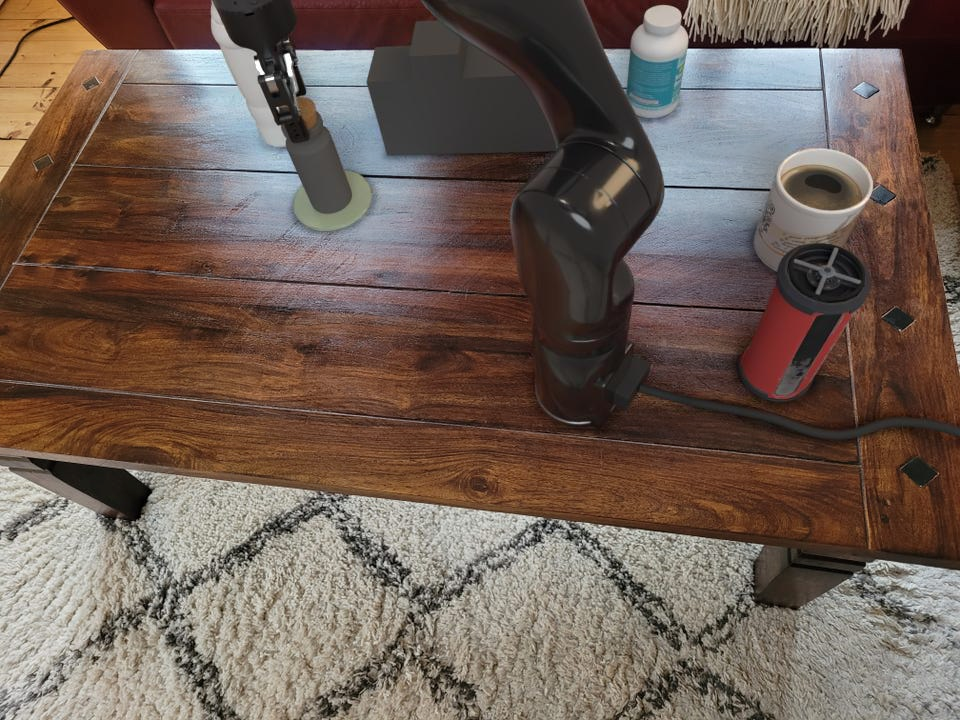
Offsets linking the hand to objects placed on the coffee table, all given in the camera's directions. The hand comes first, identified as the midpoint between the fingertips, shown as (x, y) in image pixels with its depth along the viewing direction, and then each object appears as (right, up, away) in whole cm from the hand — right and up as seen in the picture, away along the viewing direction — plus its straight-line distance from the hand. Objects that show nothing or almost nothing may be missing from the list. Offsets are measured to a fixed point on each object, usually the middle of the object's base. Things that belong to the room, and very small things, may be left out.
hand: (300, 117), depth 83 cm
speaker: (+54, -31, -8) cm, 63 cm away
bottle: (+1, -7, +12) cm, 14 cm away
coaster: (+1, -7, +12) cm, 14 cm away
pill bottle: (+47, +7, +16) cm, 50 cm away
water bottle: (-8, +5, +21) cm, 23 cm away
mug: (+61, -15, +1) cm, 63 cm away
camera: (+21, +7, +18) cm, 29 cm away
